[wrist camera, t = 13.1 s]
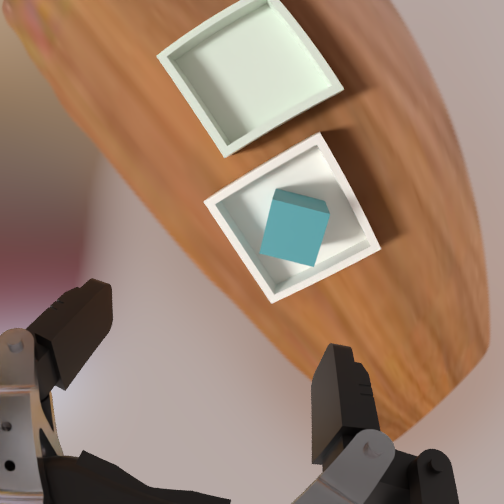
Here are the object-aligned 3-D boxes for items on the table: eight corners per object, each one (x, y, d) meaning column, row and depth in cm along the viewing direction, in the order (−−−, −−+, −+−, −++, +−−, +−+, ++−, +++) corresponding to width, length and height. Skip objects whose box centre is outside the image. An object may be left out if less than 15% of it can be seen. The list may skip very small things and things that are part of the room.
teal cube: (264, 234, 32) (259, 253, 28) (275, 188, 30) (272, 199, 26) (311, 246, 32) (313, 267, 27) (324, 201, 30) (330, 214, 25)
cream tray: (211, 195, 32) (203, 201, 29) (317, 132, 28) (319, 132, 26) (273, 289, 35) (271, 303, 33) (374, 238, 32) (381, 249, 29)
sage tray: (167, 61, 27) (156, 55, 24) (269, -3, 23) (267, -14, 21) (231, 155, 30) (224, 158, 28) (339, 93, 26) (344, 89, 24)
